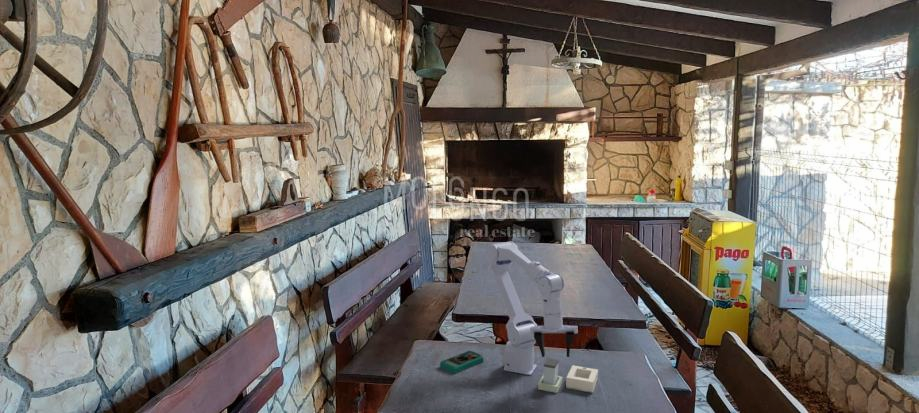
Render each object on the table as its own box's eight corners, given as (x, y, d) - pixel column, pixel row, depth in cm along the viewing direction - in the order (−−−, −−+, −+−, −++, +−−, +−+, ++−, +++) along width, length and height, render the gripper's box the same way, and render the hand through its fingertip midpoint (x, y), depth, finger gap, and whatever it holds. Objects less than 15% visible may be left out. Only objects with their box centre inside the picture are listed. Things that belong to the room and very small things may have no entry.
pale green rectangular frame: (537, 389, 176) (538, 383, 176) (543, 379, 183) (543, 373, 183) (557, 392, 174) (557, 386, 173) (562, 382, 181) (562, 376, 180)
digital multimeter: (484, 362, 196) (485, 354, 195) (454, 375, 185) (454, 367, 185) (469, 356, 201) (469, 348, 201) (438, 368, 191) (439, 360, 190)
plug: (542, 388, 177) (543, 364, 175) (546, 381, 181) (547, 358, 180) (554, 390, 175) (555, 366, 174) (557, 383, 180) (558, 359, 179)
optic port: (566, 387, 177) (566, 376, 176) (572, 375, 186) (572, 364, 185) (592, 393, 174) (593, 381, 173) (597, 379, 183) (598, 368, 182)
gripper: (527, 316, 174) (531, 359, 174) (575, 315, 170) (578, 359, 171) (530, 311, 181) (533, 353, 181) (576, 310, 177) (579, 353, 178)
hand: (555, 356), depth 176 cm, fingers open, 7 cm apart
